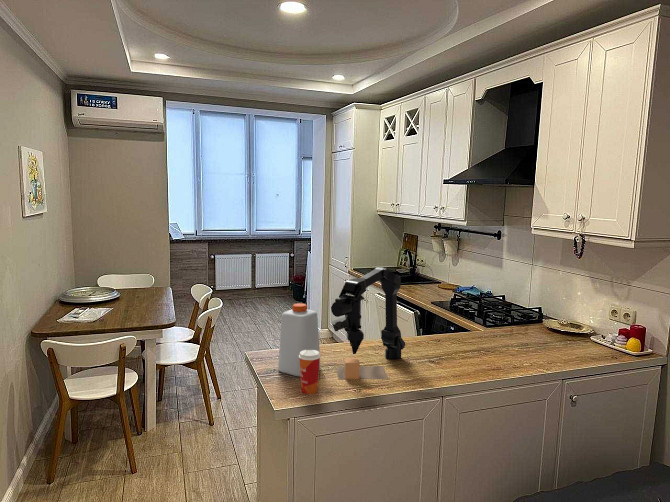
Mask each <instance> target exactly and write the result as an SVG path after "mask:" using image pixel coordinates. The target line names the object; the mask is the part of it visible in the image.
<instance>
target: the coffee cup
mask: <svg viewBox="0 0 670 502" xmlns="http://www.w3.org/2000/svg"><path fill="white" fill-rule="evenodd" d="M299 358H300V376H301V377H300V390H301V393H302V394H304V395H314V394H317V393H318V390H319V389H318V388H319V373H320V368H319V361H320V362H321V354H320V353H319V351H317V350H303V351H301V352H300V355H299Z"/></svg>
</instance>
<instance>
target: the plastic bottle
mask: <svg viewBox="0 0 670 502" xmlns="http://www.w3.org/2000/svg"><path fill="white" fill-rule="evenodd" d="M291 307H292V308H291V309H288V310H286V311H283V312H282V314H281V320H280V321H281V322H280V324H281V325H280V334H279V335H280V337H279V351H278V363H277V365H278V370H279V372H281V373H283V374H286V375H291V376H294V377H297V378H299V377H300V378H301V376H300V358H299V355H300V352H301V351H303V350H317V351H319V353H320V337H319V336H320V335H319V322H318V318H319V317H318V312H317V311H316V310H312V309H308V305H307V304H306V303H299V302H298V303H294V304H292V306H291ZM319 369H321V360H320V361H319Z"/></svg>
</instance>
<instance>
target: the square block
mask: <svg viewBox="0 0 670 502" xmlns="http://www.w3.org/2000/svg"><path fill="white" fill-rule="evenodd" d="M360 364H361V363H360V359H359V357H345V358H344V360H343V366H344V375H345V379H344V380H360V379H359V374H360V366H361V365H360Z"/></svg>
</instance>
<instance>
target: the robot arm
mask: <svg viewBox="0 0 670 502" xmlns="http://www.w3.org/2000/svg"><path fill="white" fill-rule="evenodd" d="M378 281H379V282H380V284H381V290H382V291H383V293H384V298H385V300H384V301H385V307H384V308H385V326H384V328H383V329H381V331H380V332H381V337H380V339H381V342H382V346H383V347H385V350H384V358H385V360H391V361H398V360H402V350H404V349H405V346H406V342H405V340H404V339H403V338H402V332H401V329H400V328H399V326H398V299H397V297H398V296H397V294H398V293H399V291H400V289H401V283H402V279H401V276H400V275H399V274H396V273H394V272H392V271H390V270H389V269H388V268H386V267H381V266H377V267H375V268H373V270H371V271H369V272H367V273H365V274H364V275H362V276H360V277H357V278H351V279H347V280H346V281H345V283H344V285H343V286H342V289H341V291H340V293H339V295H338V297H337V298H335V300H334V302H333V303H332V305H331V306H330V310H331V313H332V315H333V316H334V317H336V318H338V319H334V320H333V321H331V324H332V325H331V326H332V327H333V330H334V332H339V331H341V330H344V331H345V332H346V339H347V341H348V342H349V344H350V345H349V346H350V347H351V349H352V350H351V351H352V355H356V354H357V352H358V350H359V348H360V346H361V343H362V342H363V340H364V339H365V334H364V332H363V330H362V325H361V324H362V323H361V321H362V320H361V319H362V314H361V313H362V311H361V309H362V301H363V300H364V301H365V297H364V296H363V294H364V293H365V292H366V291H367V288H369V287H370V286H371V285H373V284H375V283H377V282H378ZM342 316H344V317H342Z"/></svg>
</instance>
